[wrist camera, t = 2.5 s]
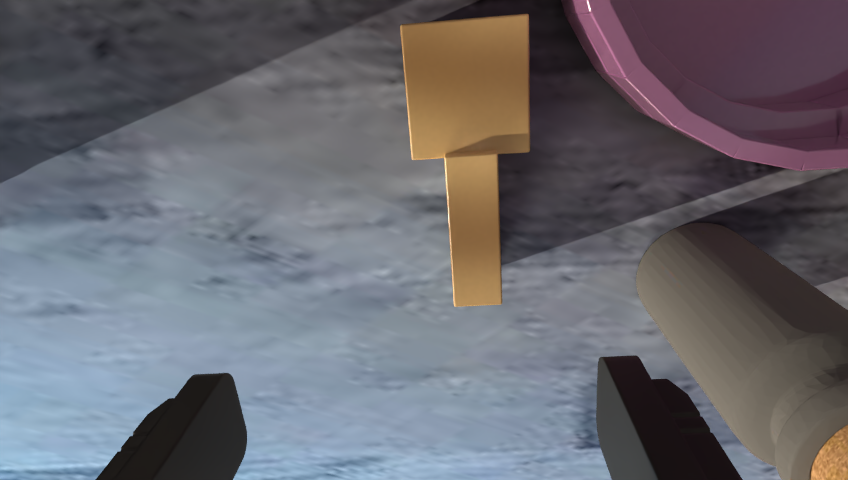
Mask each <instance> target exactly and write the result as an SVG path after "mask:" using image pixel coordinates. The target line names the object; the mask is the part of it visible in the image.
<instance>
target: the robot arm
mask: <svg viewBox="0 0 848 480" xmlns="http://www.w3.org/2000/svg"><path fill="white" fill-rule="evenodd" d="M596 423H597V432H598V438H599V443H600V447H601V450H602V453H603V456H604V458H605V461H606V464H607V467H608V470H609V473H610V475H611V478H612V480H742V478H741V477H740V475H739V474H738V472H737V470H736V469H735V467H734V466H733V464H732V463H731V461H730V460H729V458H728V456H727V455H726V453H725V452H724V450H723V449H722V447H721V445H720V444H719V442H718V441H717V439H716V438H715V436H714V435H713V433H710V428H709V427H708V425H707V424H706V422H705V421H704V419H703V417H700V413H699V411H698V410H697V408H696V406H695V405H694V403H693V402H692V400H691V399H690V397H689V396H688V394H687V393H685V392H684V391H683V390H681V389H680V388H679V387H677V386H676V385H675V384H673V383H672V382H671V381H669V380H668V379H651V378H650V376H649V374H648V373H647V371H646V369H645V367H644V366H643V364H642V362H641V360H640V359H639V357H638V356H614V357H600V358H599V361H598V378H597V410H596ZM246 445H247V431H246V426H245V422H244V418H243V414H242V410H241V406H240V402H239V398H238V394H237V390H236V386H235V382H234V379H233V377H232V376H231V375H230V374H229V373H217V374H195V375H193V376H192V377H191V378H190V379H189V380H188V381H187V383H186V384H185V385H184V387H183V388H182V389H181V390H180V392H179V393H178V394H177V396H176V397H175V398H171V399H168V400H166V401H165V402H164V403H162V404H161V405H160V406H158V407H157V408H156V409H154V410H153V411H152V412H150V413H149V414H148V415H147V416H146V417H145V418H144V420H143V421H142V422H141V423H140V425H139V426H138V427H137V428H136V430H135V431H134V432H133V436H130V437H129V439H128V440H127V441H126V442H125V444H124V445H123V446H122V447H121V452H117V454H116V455H115V456H114V457H113V459H112V460H111V461H110V462H109V464H108V465H107V466H106V467H105V469H104V470H103V471H102V472H101V474H100V475H99V476H98V477H97V479H96V480H233V478H234V476H235V474H236V472H237V470H238V468H239V466H240V464H241V462H242V460H243V458H244V455H245V451H246Z"/></svg>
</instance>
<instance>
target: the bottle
mask: <svg viewBox="0 0 848 480" xmlns="http://www.w3.org/2000/svg"><path fill="white" fill-rule="evenodd" d="M636 285H637V290H638V295H639V297H640V299H641V301H642V303H643V305H644V307H645V308H646V310H647V311H648V313H649V314H650V316H651V317H652V319H653V320H654V321H655V323H656V324H657V326H658V327H659V329H660V330H661V331H662V333H663V334H664V336H665V337H666V339H667V340H668V341H669V343H670V344H671V346H672V347H673V349H674V350H675V352H676V353H677V354H678V356H679V357H680V359H681V360H682V361H683V363H684V364H685V366H686V367H687V368H688V370H689V371H690V373H691V374H692V375H693V377H694V378H695V380H696V381H697V382H698V384H699V385H700V387H701V388H702V389H703V391H704V392H705V394H706V395H707V396H708V398H709V399H710V401H711V402H712V403H713V405H714V406H715V408H716V409H717V410H718V412H719V413H720V415H721V416H722V417H723V419H724V420H725V422H726V423H727V424H728V426H729V427H730V429H731V430H732V431H733V433H734V434H735V435H736V436H737V438H738V439H739V440H740V441H741V442H742V444H743V445H744V446H745V447H746V448H747V449H748V450H749V451H750V453H752V454H753V455H754V456H756V457H757V458H759V459H760V460H762V461H763V462H766V463H768V464H770V465H773V466H776V467H777V471H778V473H779V475H780V477H781V479H782V480H848V310H846V309H845V308H843V307H842V306H841V305H839V304H838V303H836V302H835V301H834V300H832V299H831V298H829V297H828V296H826V295H825V294H824V293H822V292H821V291H819V290H818V289H817V288H815V287H814V286H812V285H811V284H810V283H808V282H807V281H805V280H804V279H802V278H801V277H800V276H798V275H797V274H795V273H794V272H792V271H791V270H789V269H788V268H787V267H785V266H784V265H782V264H781V263H779V262H778V261H776V260H775V259H774V258H772V257H771V256H769V255H768V254H766V253H765V252H764V251H762V250H761V249H759V248H758V247H756V246H755V245H753V244H752V243H751V242H749V241H748V240H746V239H745V238H743V237H742V236H740V235H739V234H737V233H735V232H734V231H732V230H730V229H728V228H726V227H724V226H721V225H717V224H712V223H692V224H687V225H684V226H680V227H677V228H675V229H673V230H670V231H669V232H667V233H666V234H664V235H662V236H661V237H660V238H659V239H657V240H656V241H655V242H654V243H653V244H652V245H651V246H650V247H649V249H648V250H647V251H646V252H645V254H644V256H643V258H642V260H641V262H640V264H639V267H638V271H637V276H636Z"/></svg>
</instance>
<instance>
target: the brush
mask: <svg viewBox="0 0 848 480" xmlns="http://www.w3.org/2000/svg"><path fill="white" fill-rule="evenodd" d="M400 30H401V41H402V53H403V64H404V76H405V87H406V98H407V110H408V121H409V133H410V144H411V156H412V160H421V159H436V158H444V160H445V175H446V190H447V206H448V221H449V236H450V251H451V267H452V282H453V297H454V306H455V307H458V306H478V305H498V304H502V278H501V244H500V211H499V177H498V154H509V153H524V152H529V151H530V73H529V15H528V14H517V15H505V16H493V17H481V18H469V19H458V20H446V21H434V22H422V23H410V24H402V25H401V26H400Z"/></svg>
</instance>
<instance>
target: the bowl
mask: <svg viewBox="0 0 848 480" xmlns="http://www.w3.org/2000/svg"><path fill="white" fill-rule="evenodd" d="M561 1H562V5H563V9H564V13H565V15H566V18H567V20H568V22H569V23H570V25H571V27H572V29H573V31H574V32H575V34H576V36H577V38H578V40H579V42H580V43H581V45H582V47H583V49H584V51H585V52H586V54H587V56H588V58H589V60H590V61H591V63H592V65H593V67H594V69H596V71H597V72H598V73H599V74H600V75H601V76H602V77H603V78H604V79H605V80H606V81H607V82H608V83H609V84H610V85H611V86H612V87H613V88H614V89H615V90H616V91H617V92H618V93H619V94H620V95H621V96H622V97H623V98H624V99H625V100H626V101H627V102H628V103H629V104H630V105H631V106H632V107H633V108H634V109H635V110H637V111H638V112H640V113H642V114H643V115H645V116H647V117H649V118H651V119H653V120H655V121H657V122H659V123H661V124H663V125H665V126H667V127H668V128H670V129H672V130H674V131H676V132H678V133H680V134H682V135H684V136H686V137H688V138H690V139H692V140H695V141H697V142H699V143H701V144H704V145H706V146H708V147H710V148H712V149H715V150H717V151H719V152H721V153H723V154H726V155H728V156H730V157H733V158H736V159H742V160H747V161H752V162H757V163H762V164H767V165H772V166H777V167H782V168H788V169H793V170H798V171H800V170H802V171H805V170H821V169H837V168H848V0H561Z"/></svg>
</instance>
